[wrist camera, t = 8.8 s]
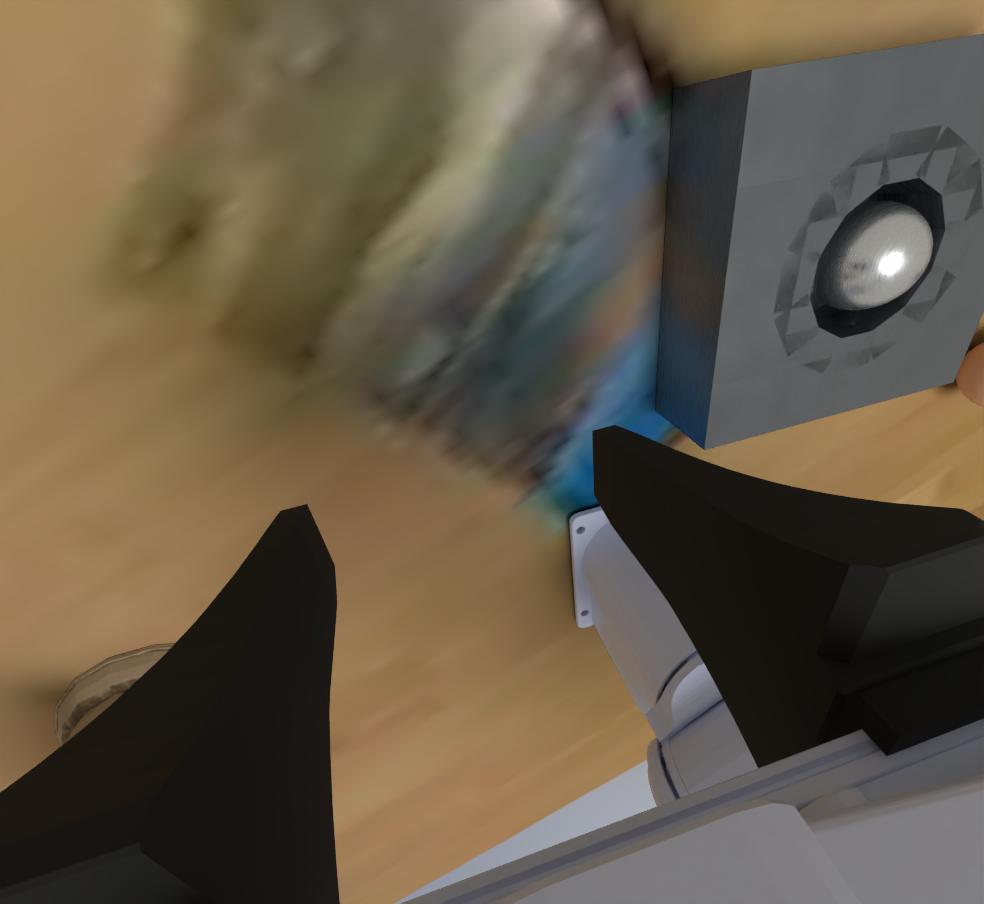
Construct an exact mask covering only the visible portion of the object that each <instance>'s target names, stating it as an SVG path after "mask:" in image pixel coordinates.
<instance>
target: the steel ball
mask: <svg viewBox="0 0 984 904" xmlns="http://www.w3.org/2000/svg"><path fill="white" fill-rule="evenodd" d="M932 248H933V237H932V232H931V229H930V226H929V224H928V222H927V221H926V219H925V218H924V217H923V216H922V215H921V214H920V213H919V212H918V211H917V210H915V209H914V208H912V207H910V206H908V205H906V204H902V203H899V202H894V201H873V202H868V203H863V204H860V205H858V206H856V207H855V208H854V209H853V210H851V211H850V212H849V213H848V214H847V215H846V216H845V217H844V219H843V220H842V222H841V223H840V225H839V227H838V228H837V230H836V231H835V233H834V234H833V236H832V238H831V239H830V241H829V242H828V244H827V246H826V247H825V249H824V250H823V252H822V253H821V255H820V257H819V259H818V264H817V268H816V273H815V277H814V281H813V286H812V290H811V292H812V294H813V295H814V296H815V297H816V298H817V299H819V300H820V301H821V302H823V303H824V304H826V305H828V306H831V307H834V308H837V309H842V310H864V309H870V308H874V307H878V306H880V305H883V304H885V303H888V302H890V301H892V300H894V299H895V298H897V297H899V296H900V295H902V294H903V293H904V292H906V291H907V290H908V289H909V288H911V287H912V286H913V285H914V284H915V282H916V281H917V280H918V279H919V278H920V277H921V275H922V274H923V272H924V271H925V269H926V267H927V265H928V263H929V261H930V258H931V254H932Z"/></svg>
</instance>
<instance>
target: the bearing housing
mask: <svg viewBox="0 0 984 904" xmlns="http://www.w3.org/2000/svg"><path fill="white" fill-rule="evenodd" d="M873 201H894V202H899V203H902V204H906V205H908V206H910V207H912V208H914V209H915V210H917V211H918V212H919V213H920V214H921V215H922V216H923V217H924V218H925V219H926V221H927V222H928V224H929V226H930V229H931V232H932V237H933V248H932V254H931V258H930V261H929V263H928V265H927V267H926V269H925V271H924V272H923V274H922V275H921V277H920V278H919V279H918V280H917V281H916V282H915V284H914V285H913V286H912V287H911V288H909V289H908V290H907V291H906V292H904V293H903V294H902V295H900V296H899V297H897V298H895V299H894V300H892V301H890V302H888V303H885V304H883V305H880V306H878V307H874V308H870V309H864V310H842V309H837V308H834V307H831V306H828V305H826V304H824V303H823V302H821V301H820V300H819V299H817V298H816V297H815V296H814V295H813V294H812V292H811V290H812V286H813V281H814V277H815V273H816V268H817V264H818V259H819V257H820V255H821V253H822V252H823V250H824V249H825V247H826V246H827V244H828V242H829V241H830V239H831V238H832V236H833V234H834V233H835V231H836V230H837V228H838V227H839V225H840V223H841V222H842V220H843V219H844V217H845V216H846V215H847V214H848V213H849V212H850V211H851V210H853V209H854V208H855V207H856V206H858V205H860V204H863V203H868V202H873ZM983 312H984V34H980V35H974V36H967V37H961V38H954V39H948V40H941V41H935V42H929V43H922V44H916V45H909V46H903V47H896V48H890V49H883V50H877V51H871V52H864V53H858V54H851V55H845V56H838V57H832V58H825V59H819V60H812V61H806V62H800V63H793V64H787V65H780V66H774V67H767V68H761V69H754V70H749V71H745V72H741V73H737V74H733V75H729V76H725V77H721V78H717V79H713V80H709V81H704V82H700V83H696V84H692V85H688V86H684V87H680V88H676V89H673V103H672V121H671V139H670V157H669V175H668V193H667V211H666V229H665V247H664V265H663V282H662V300H661V318H660V336H659V354H658V372H657V390H656V408H655V411H657V412H658V413H659V414H660V415H661V416H663V417H664V418H665V419H666V420H668V421H669V422H670V423H671V424H673V425H674V426H675V427H676V428H678V429H679V430H680V431H681V432H683V433H684V434H685V435H686V436H688V437H689V438H690V439H691V440H693V441H694V442H695V443H696V444H698V445H699V446H700V447H701V448H702V449H704V450H706V449H710V448H714V447H717V446H721V445H725V444H728V443H732V442H736V441H739V440H743V439H747V438H750V437H754V436H758V435H761V434H765V433H769V432H772V431H776V430H780V429H783V428H787V427H791V426H794V425H798V424H802V423H806V422H809V421H813V420H817V419H820V418H824V417H828V416H831V415H835V414H839V413H842V412H846V411H850V410H853V409H857V408H861V407H864V406H868V405H872V404H875V403H879V402H883V401H886V400H890V399H894V398H897V397H901V396H905V395H908V394H912V393H916V392H919V391H923V390H927V389H931V388H934V387H938V386H942V385H945V384H949V383H953V382H954V380H955V378H956V375H957V373H958V371H959V368H960V366H961V364H962V361H963V359H964V357H965V354H966V352H967V350H968V347H969V345H970V343H971V340H972V338H973V335H974V333H975V331H976V328H977V326H978V324H979V321H980V319H981V317H982V314H983Z"/></svg>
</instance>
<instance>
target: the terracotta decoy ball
mask: <svg viewBox="0 0 984 904" xmlns="http://www.w3.org/2000/svg"><path fill="white" fill-rule="evenodd" d="M956 383H957V386H958V388H959V390H960V392H961V393H962V394H963V395H964V396H965V397H966V398H967V399H969V400H970V401H972V402H973V403H975V404H977V405H980V406H983V407H984V342H983V343H981V344H979V345H977V346H976V347H974V348H973V349H972V350H970V351H969V352H968V353H967V354H966V355H965V357H964V359H963V361H962V364H961V366H960V368H959V371H958V373H957V375H956Z"/></svg>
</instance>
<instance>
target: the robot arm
mask: <svg viewBox="0 0 984 904" xmlns="http://www.w3.org/2000/svg"><path fill="white" fill-rule="evenodd" d="M593 468H594V495H595V496H596V498H597V500H598V502H599V504H600V507H596V508H593V509H589V510H586V511H582V512H578V513H576V514H574V515H573V516H572V517H571V518H570V521H569V524H570V539H571V555H572V570H573V585H574V601H575V616H576V623H577V625H578V627H580V628H586V627H589V626H593V625H594V626H595V628H596V630H597V632H598V634H599V636H600V638H601V640H602V641H603V643H604V645H605V647H606V649H607V651H608V653H609V655H610V657H611V659H612V661H613V662H614V664H615V666H616V668H617V670H618V672H619V674H620V676H621V678H622V680H623V681H624V683H625V685H626V687H627V689H628V691H629V693H630V695H631V697H632V699H633V700H634V702H635V704H636V705H637V707H638V708H639V710H640V711H641V712H642V713H643V714H644V715H645V716H646V718H647V720H648V722H649V723H650V725H651V727H652V729H653V731H654V733H655V735H656V737H657V738H655V739H654V740H652V741H651V742H650V744H649V746H648V749H647V762H648V778H649V783H650V787H651V791H652V794H653V797H654V800H655V802H656V805H657V807H655V808H653V809H650V810H647V811H644V812H642V813H639V814H636V815H634V816H631V817H628V818H626V819H623V820H621V821H618V822H615V823H613V824H610V825H607V826H605V827H602V828H599V829H597V830H594V831H592V832H589V833H586V834H584V835H581V836H578V837H576V838H573V839H570V840H568V841H565V842H562V843H560V844H557V845H554V846H552V847H549V848H547V849H544V850H541V851H539V852H536V853H533V854H531V855H528V856H525V857H523V858H520V859H517V860H515V861H512V862H510V863H507V864H504V865H502V866H499V867H496V868H494V869H491V870H489V871H486V872H483V873H481V874H478V875H475V876H473V877H470V878H467V879H465V880H462V881H460V882H457V883H454V884H451V885H449V886H446V887H444V888H441V889H438V890H436V891H433V892H430V893H428V894H425V895H422V896H420V897H417V898H414V899H412V900H409V901H406V902H404V903H401V904H984V521H983V520H981V519H980V518H978V517H976V516H974V515H973V514H971V513H969V512H967V511H965V510H963V509H957V508H945V507H933V506H921V505H909V504H897V503H888V502H880V501H873V500H865V499H858V498H851V497H844V496H838V495H832V494H826V493H821V492H816V491H811V490H806V489H801V488H796V487H791V486H787V485H783V484H779V483H774V482H771V481H767V480H763V479H760V478H756V477H752V476H749V475H745V474H742V473H738V472H735V471H732V470H729V469H726V468H723V467H720V466H717V465H714V464H711V463H709V462H706V461H703V460H700V459H698V458H695V457H692V456H690V455H687V454H685V453H682V452H680V451H677V450H675V449H672V448H670V447H667V446H665V445H663V444H660V443H658V442H656V441H653V440H651V439H649V438H646V437H644V436H641V435H639V434H637V433H634V432H632V431H629V430H627V429H624V428H622V427H619V426H616V425H613V426H609V427H606V428H602V429H598V430H594V431H593ZM579 527H581V528H580V529H578V528H579ZM577 529H578V530H577ZM336 610H337V594H336V577H335V565H334V563H333V561H332V558H331V556H330V554H329V552H328V550H327V547H326V545H325V543H324V541H323V538H322V536H321V534H320V532H319V530H318V527H317V525H316V523H315V521H314V519H313V516H312V514H311V512H310V510H309V507H308V505H307V504H306V505H302V506H298V507H294V508H290V509H286V510H282V511H280V513H279V514H278V515H277V516H276V518H275V519H274V520H273V522H272V523H271V525H270V526H269V527H268V529H267V530H266V532H265V533H264V534H263V536H262V537H261V539H260V540H259V542H258V543H257V544H256V546H255V547H254V549H253V550H252V551H251V553H250V554H249V555H248V557H247V558H246V559H245V561H244V562H243V564H242V565H241V566H240V568H239V569H238V570H237V572H236V573H235V574H234V576H233V577H232V578H231V579H230V581H229V582H228V583H227V584H226V586H225V587H224V588H223V589H222V591H221V592H220V593H219V594H218V595H217V597H216V598H215V599H214V600H213V602H212V603H211V604H210V605H209V607H208V608H207V609H206V610H205V611H204V613H203V614H202V615H201V616H200V617H199V618H198V620H197V621H196V622H195V623H194V624H193V625H192V626H191V627H190V628H189V629H188V631H187V632H186V633H185V634H184V635H183V636H182V637H181V638H180V639H179V640H178V641H177V642H176V643H175V644H174V645H173V646H172V647H171V648H170V649H169V651H168V652H167V653H166V654H165V655H164V656H163V657H162V658H161V659H160V660H159V661H158V662H156V663H155V664H154V665H153V666H152V667H151V668H150V669H149V670H148V671H147V672H146V673H145V674H144V675H143V676H141V677H140V678H139V679H138V680H137V681H136V682H135V683H134V684H133V685H132V686H131V687H130V688H129V689H128V690H126V691H125V692H124V693H123V694H122V695H121V696H120V697H119V698H118V699H117V700H116V701H115V702H113V703H112V704H111V705H110V706H109V707H108V708H107V709H105V710H104V711H103V712H102V713H101V714H100V715H98V716H97V717H96V718H95V719H94V720H92V721H91V722H90V723H89V724H88V725H87V726H85V727H84V728H83V729H82V730H81V731H79V732H78V733H77V734H76V735H74V736H73V737H72V738H71V739H70V740H68V741H67V742H66V743H65V744H63V745H62V746H61V747H60V748H58V749H57V750H56V751H55V752H54V753H52V754H51V755H50V756H48V757H47V758H46V759H45V760H43V761H42V762H41V763H39V764H38V765H37V766H36V767H34V768H33V769H32V770H30V771H29V772H28V773H26V774H25V775H24V776H22V777H21V778H20V779H18V780H17V781H16V782H14V783H13V784H11V785H10V786H9V787H7V788H6V789H5V790H3V791H2V792H1V793H0V904H340V903H339V891H338V879H337V867H336V853H335V837H334V822H333V806H332V783H331V760H330V722H329V706H330V686H331V674H332V662H333V649H334V637H335V624H336Z"/></svg>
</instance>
